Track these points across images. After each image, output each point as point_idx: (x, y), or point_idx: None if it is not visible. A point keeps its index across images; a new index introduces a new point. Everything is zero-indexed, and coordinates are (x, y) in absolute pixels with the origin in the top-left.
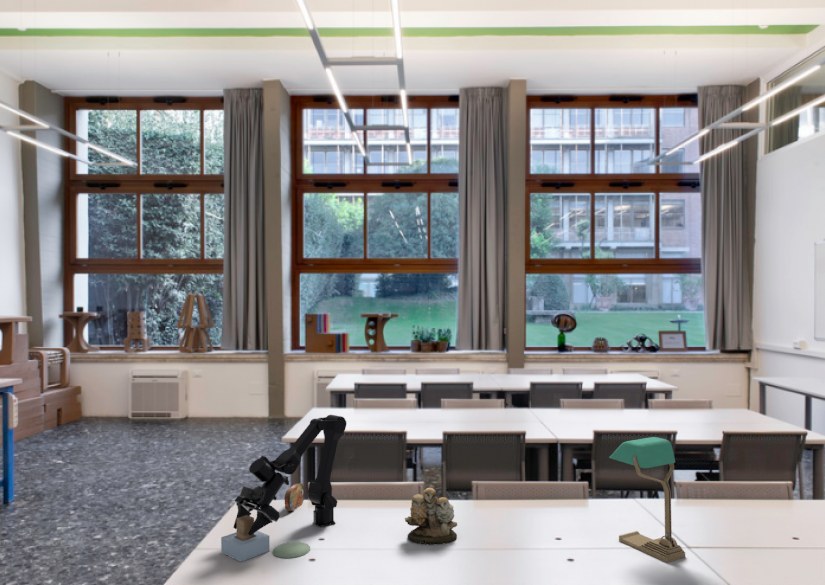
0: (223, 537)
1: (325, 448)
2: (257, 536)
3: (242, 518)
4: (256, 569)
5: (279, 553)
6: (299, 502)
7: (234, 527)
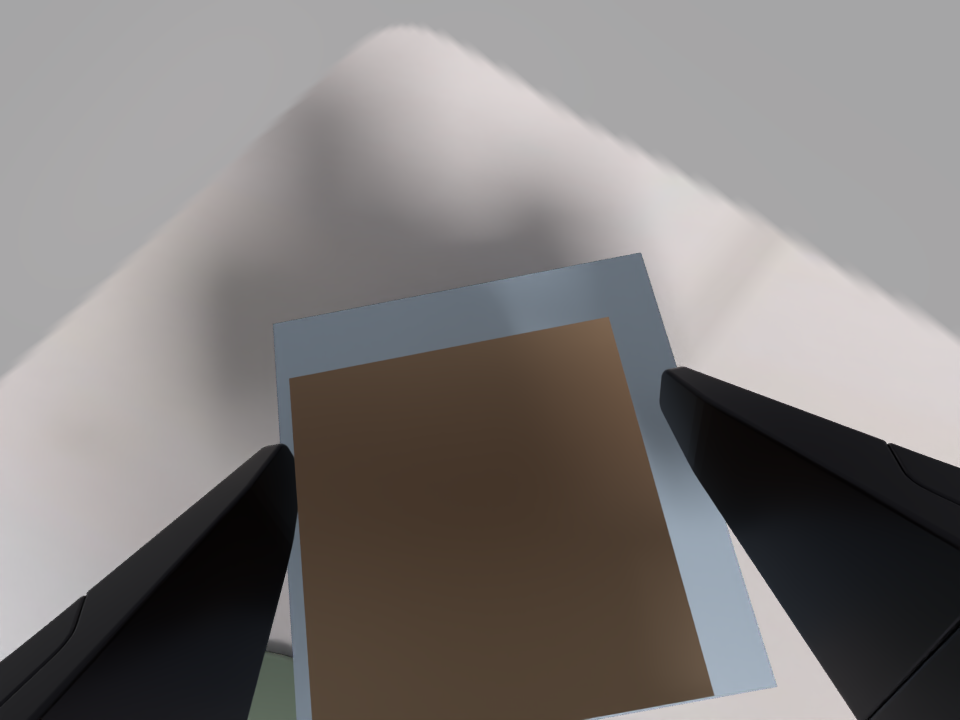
0: (621, 269)
1: None
2: None
3: (501, 442)
4: (146, 404)
5: None
6: None
7: (664, 379)
